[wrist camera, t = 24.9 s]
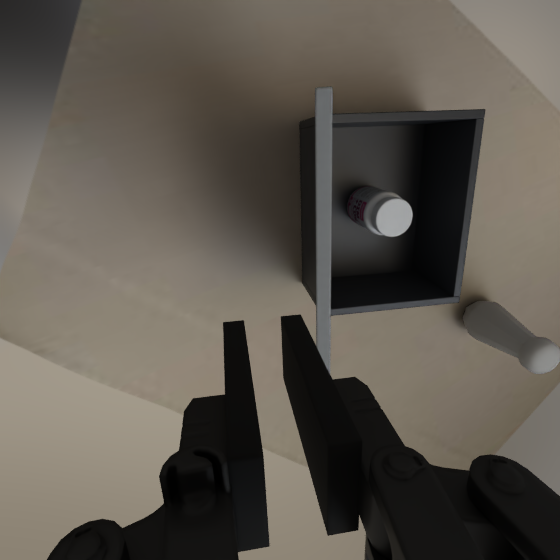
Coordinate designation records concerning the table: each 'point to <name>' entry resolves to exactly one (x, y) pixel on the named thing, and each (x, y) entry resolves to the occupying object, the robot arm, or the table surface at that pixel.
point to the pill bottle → (379, 211)
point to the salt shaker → (510, 336)
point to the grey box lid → (323, 218)
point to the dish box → (410, 187)
